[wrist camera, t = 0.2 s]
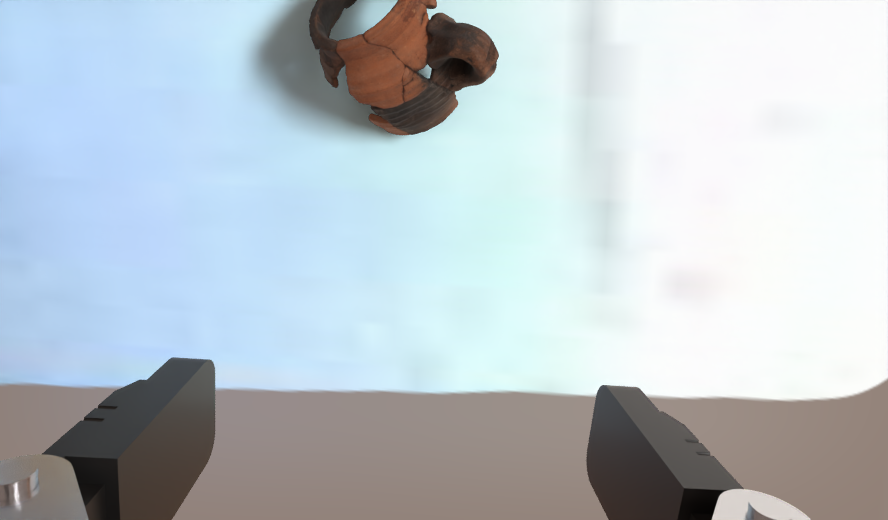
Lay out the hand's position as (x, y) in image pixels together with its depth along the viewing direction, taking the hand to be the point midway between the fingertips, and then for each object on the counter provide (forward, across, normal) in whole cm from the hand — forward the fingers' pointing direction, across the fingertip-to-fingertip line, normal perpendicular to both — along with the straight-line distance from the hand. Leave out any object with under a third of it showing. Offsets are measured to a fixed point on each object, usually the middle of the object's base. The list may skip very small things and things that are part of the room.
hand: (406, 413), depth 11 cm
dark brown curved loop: (+29, -2, -9) cm, 30 cm away
